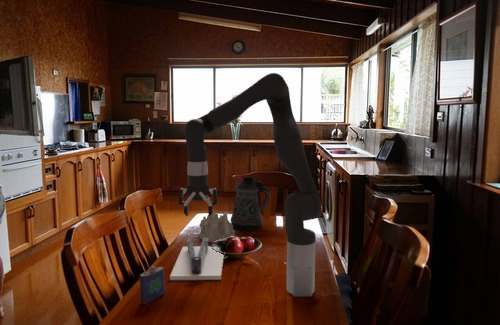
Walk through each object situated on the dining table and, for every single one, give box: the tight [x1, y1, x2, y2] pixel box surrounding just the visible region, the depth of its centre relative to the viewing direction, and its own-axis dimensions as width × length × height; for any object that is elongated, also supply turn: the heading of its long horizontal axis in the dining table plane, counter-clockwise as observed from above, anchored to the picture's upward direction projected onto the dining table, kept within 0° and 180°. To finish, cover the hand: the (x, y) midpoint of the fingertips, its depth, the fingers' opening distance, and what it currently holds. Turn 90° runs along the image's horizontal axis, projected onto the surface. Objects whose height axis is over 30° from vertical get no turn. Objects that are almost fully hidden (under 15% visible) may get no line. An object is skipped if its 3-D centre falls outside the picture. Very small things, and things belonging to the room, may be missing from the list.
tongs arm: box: [187, 237, 195, 262], centre depth 154 cm, size 22×2×5 cm, turn 11°
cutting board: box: [169, 245, 225, 281], centre depth 154 cm, size 30×18×2 cm, turn 1°
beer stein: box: [230, 177, 271, 231], centre depth 202 cm, size 16×19×25 cm
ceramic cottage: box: [198, 209, 236, 243], centre depth 186 cm, size 16×16×15 cm
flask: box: [139, 265, 166, 305], centre depth 125 cm, size 9×3×11 cm, turn 144°
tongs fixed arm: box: [191, 237, 209, 274], centre depth 153 cm, size 26×4×5 cm, turn 1°
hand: (198, 215), depth 148 cm, fingers open, 8 cm apart
